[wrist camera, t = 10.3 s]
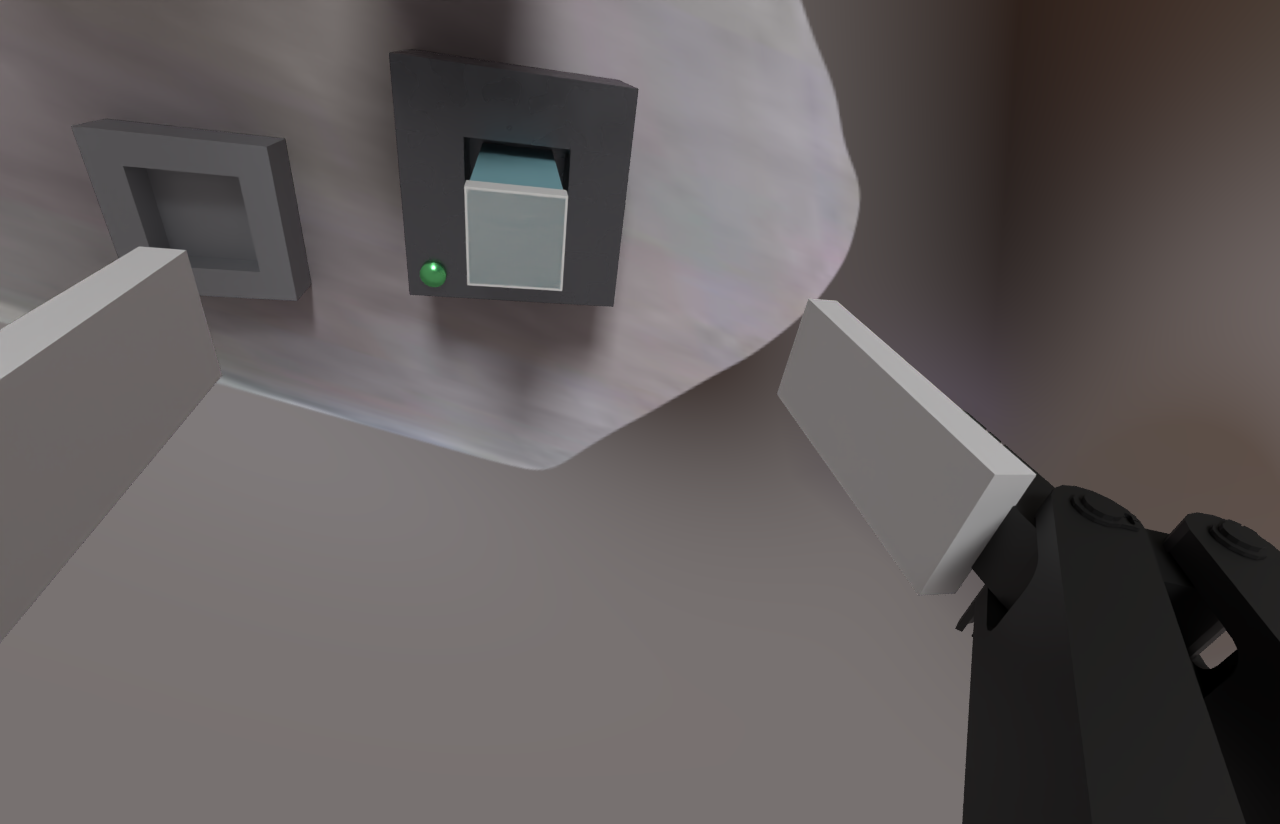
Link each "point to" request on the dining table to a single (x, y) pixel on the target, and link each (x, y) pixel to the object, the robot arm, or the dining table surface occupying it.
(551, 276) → the plug
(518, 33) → the dining table surface
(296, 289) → the square frame socket
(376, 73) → the dining table surface
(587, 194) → the port
